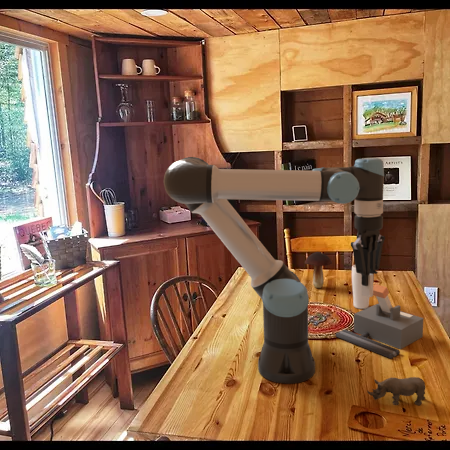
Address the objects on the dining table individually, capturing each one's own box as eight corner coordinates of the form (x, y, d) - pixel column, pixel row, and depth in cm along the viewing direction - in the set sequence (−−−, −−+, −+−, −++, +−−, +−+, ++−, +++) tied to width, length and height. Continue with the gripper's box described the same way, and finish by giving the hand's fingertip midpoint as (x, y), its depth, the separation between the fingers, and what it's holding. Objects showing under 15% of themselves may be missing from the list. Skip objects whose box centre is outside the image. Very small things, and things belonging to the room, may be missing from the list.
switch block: (400, 349, 127) (401, 318, 125) (353, 331, 140) (354, 303, 138) (422, 336, 134) (423, 307, 133) (376, 321, 147) (376, 293, 145)
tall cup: (368, 303, 163) (369, 263, 160) (372, 310, 156) (373, 269, 153) (349, 303, 163) (350, 264, 160) (353, 310, 157) (353, 269, 154)
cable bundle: (391, 359, 122) (391, 355, 121) (334, 336, 137) (334, 332, 137) (407, 350, 126) (407, 346, 126) (350, 329, 142) (350, 325, 141)
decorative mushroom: (299, 286, 184) (299, 251, 181) (321, 281, 189) (321, 247, 186) (315, 294, 174) (315, 257, 171) (338, 289, 179) (338, 253, 176)
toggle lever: (393, 318, 134) (382, 292, 129) (381, 314, 137) (370, 289, 132) (397, 312, 135) (386, 287, 130) (385, 308, 138) (374, 284, 133)
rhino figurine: (363, 397, 105) (364, 373, 104) (422, 395, 105) (423, 372, 104) (369, 407, 101) (369, 383, 100) (429, 405, 101) (431, 381, 100)
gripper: (365, 219, 116) (364, 304, 121) (394, 212, 124) (392, 293, 128) (342, 216, 122) (342, 297, 127) (371, 210, 130) (369, 287, 134)
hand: (367, 295), depth 128 cm, fingers closed
